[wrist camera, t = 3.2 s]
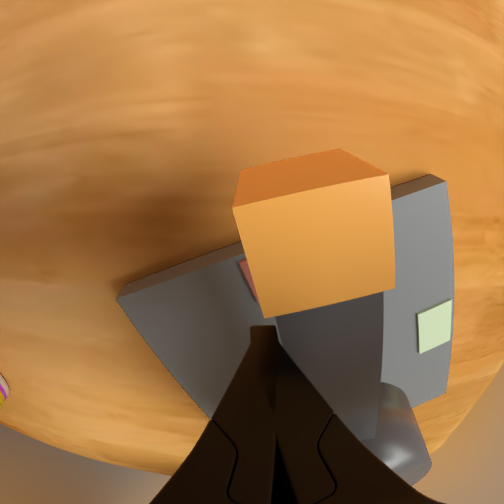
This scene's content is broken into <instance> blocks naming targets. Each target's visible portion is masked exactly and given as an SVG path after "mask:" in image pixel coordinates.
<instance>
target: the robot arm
mask: <svg viewBox="0 0 504 504" xmlns="http://www.w3.org/2000/svg"><path fill="white" fill-rule="evenodd" d="M149 504H445V503H442V502H438V501H435V500H433V499H431V498H429V497H427V496H425V495H423V494H422V493H420V492H418V491H417V490H416V489H414V488H413V487H412V486H411V485H409V484H408V483H407V482H406V481H405V480H403V479H402V478H401V477H400V476H399V475H397V474H396V473H395V472H394V471H393V470H392V469H390V468H389V467H388V466H387V465H386V464H385V463H384V462H382V461H381V460H380V459H379V458H378V457H377V456H376V455H375V454H373V453H372V452H371V451H370V450H369V449H368V448H367V447H366V446H365V445H364V444H363V443H362V442H361V441H360V440H359V439H358V438H357V437H356V436H355V435H354V434H353V432H352V431H351V430H350V429H349V428H348V427H347V426H346V425H345V423H344V422H343V421H342V420H341V419H340V417H339V416H338V415H337V414H336V413H335V414H334V410H333V409H332V408H331V407H330V405H329V404H328V403H327V402H326V400H325V399H324V398H323V397H322V395H321V394H320V393H319V392H318V391H317V389H316V388H315V387H314V386H313V384H312V383H311V382H310V381H309V379H308V378H307V377H306V376H305V374H304V373H303V372H302V371H301V369H300V368H299V367H298V365H297V364H296V363H295V362H294V360H293V359H292V358H291V357H290V355H289V354H288V353H287V351H286V350H285V349H284V348H283V346H282V345H281V344H280V342H279V339H278V334H277V329H276V326H275V325H252V326H251V327H250V345H249V347H248V349H247V351H246V353H245V355H244V357H243V359H242V361H241V363H240V365H239V367H238V368H237V370H236V372H235V374H234V376H233V378H232V380H231V382H230V384H229V386H228V387H227V389H226V391H225V393H224V395H223V397H222V399H221V401H220V402H219V404H218V406H217V408H216V410H215V412H214V413H213V415H212V417H211V420H210V421H209V422H208V424H207V426H206V428H205V429H204V431H203V433H202V435H201V436H200V438H199V440H198V441H197V443H196V444H195V446H194V448H193V449H192V451H191V452H190V454H189V455H188V456H187V458H186V459H185V460H184V462H183V463H182V464H181V466H180V467H179V468H178V470H177V471H176V472H175V473H174V475H173V476H172V477H171V479H169V481H168V482H167V483H166V484H165V486H164V487H163V488H162V489H161V490H160V491H159V493H158V494H157V495H156V496H155V497H154V498H153V500H152V501H151V502H150V503H149Z"/></svg>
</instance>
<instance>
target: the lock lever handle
mask: <svg viewBox="0 0 504 504" xmlns="http://www.w3.org/2000/svg"><path fill="white" fill-rule="evenodd" d="M232 211H233V214H234V217H235V221H236V224H237V228H238V231H239V235H240V238H241V241H242V245H243V248H244V252H245V255H246V259H247V262H248V265H249V269H250V272H251V276H252V279H253V282H254V286H255V289H256V293H257V296H258V299H259V303H260V306H261V309H262V313H263V316H264V319H265V318H270V317H275V319H276V322H277V326H278V330H279V334H280V337H281V341H282V345H283V348H284V349H285V350H286V351H287V353H288V354H289V355H290V357H291V358H292V359H293V360H294V362H295V363H296V364H297V365H298V367H299V368H300V369H301V371H302V372H303V373H304V374H305V376H306V377H307V378H308V379H309V381H310V382H311V383H312V384H313V386H314V387H315V388H316V389H317V391H318V392H319V393H320V394H321V395H322V397H323V398H324V399H325V400H326V402H327V403H328V404H329V405H330V407H331V408H332V409H333V410H334V414H335V413H336V414H337V415H338V416H339V417H340V419H341V420H342V421H343V422H344V423H345V425H346V426H347V427H348V428H349V429H350V430H351V431H352V432H353V434H354V435H355V436H356V437H357V438H358V439H359V440H360V441H361V442H362V443H363V444H364V445H365V446H366V447H367V448H368V449H369V450H370V451H371V452H372V453H373V454H375V455H376V456H377V457H378V458H379V459H380V460H381V461H382V462H384V463H385V464H386V465H387V466H388V467H389V468H390V469H392V470H393V471H394V472H395V473H396V474H397V475H399V476H400V477H401V478H402V479H403V480H405V481H406V482H407V483H408V484H409V485H411V486H412V485H414V484H415V483H417V482H418V481H419V480H421V479H422V478H423V477H424V476H425V475H426V474H427V473H428V471H429V470H430V468H431V465H432V462H431V459H430V457H429V453H428V451H427V448H426V445H425V442H424V439H423V437H422V434H421V431H420V429H419V426H418V423H417V421H416V418H415V415H414V413H413V410H412V408H411V405H410V403H409V400H408V398H407V396H406V394H405V393H404V391H403V390H401V389H400V388H399V387H397V386H394V385H392V384H389V383H385V382H381V373H382V356H383V325H384V292H383V291H386V290H390V289H394V288H395V248H394V228H393V213H392V201H391V190H390V181H389V174H387V173H385V172H384V171H382V170H380V169H378V168H376V167H374V166H373V165H371V164H369V163H367V162H365V161H363V160H361V159H359V158H357V157H355V156H353V155H351V154H349V153H347V152H345V151H343V150H341V149H335V150H330V151H325V152H319V153H314V154H309V155H304V156H300V157H295V158H290V159H286V160H281V161H277V162H272V163H268V164H264V165H259V166H255V167H251V168H247V169H243V170H241V171H240V175H239V179H238V183H237V188H236V192H235V196H234V200H233V205H232Z"/></svg>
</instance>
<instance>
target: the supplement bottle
mask: <svg viewBox="0 0 504 504" xmlns="http://www.w3.org/2000/svg"><path fill="white" fill-rule="evenodd" d="M8 395H9V388H8V385H7V383H6V381H5V380H4V378H3V377H2V375H1V374H0V409H1V407H2V405H3V404H4V402H5V400H6V398H7V397H8Z"/></svg>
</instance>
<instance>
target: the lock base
mask: <svg viewBox="0 0 504 504" xmlns="http://www.w3.org/2000/svg"><path fill="white" fill-rule="evenodd" d="M390 190H391V201H392V213H393V228H394V248H395V288H394V289H390V290H386V291H383V292H384V325H383V356H382V373H381V382H385V383H389V384H392V385H394V386H397V387H399V388H400V389H401V390H403V391H404V393H405V394H406V396H407V398H408V400H409V403H410V405H411V408H413V407H415V406H418V405H420V404H422V403H425V402H427V401H429V400H431V399H433V398H436V397H438V396H440V395H442V394H444V393H446V388H447V381H448V374H449V366H450V358H451V347H452V335H453V318H454V255H453V238H452V225H451V215H450V206H449V198H448V190H447V184H446V181H445V180H443V179H440V178H438V177H436V176H434V175H432V174H430V175H427V176H424V177H421V178H419V179H416V180H413V181H410V182H407V183H404V184H401V185H398V186H395V187H392V188H390ZM116 300H117V302H118V303H119V305H120V306H121V308H122V309H123V311H124V312H125V313H126V315H127V316H128V318H129V319H130V321H131V322H132V323H133V325H134V326H135V328H136V329H137V330H138V332H139V333H140V334H141V336H142V337H143V339H144V340H145V341H146V343H147V344H148V345H149V347H150V348H151V349H152V350H153V352H154V353H155V354H156V356H157V357H158V358H159V359H160V361H161V362H162V363H163V364H164V366H165V367H166V368H167V369H168V371H169V372H170V373H171V374H172V376H173V377H174V378H175V379H176V380H177V382H178V383H179V384H180V385H181V386H182V388H183V389H184V390H185V391H186V392H187V393H188V395H189V396H190V397H191V398H192V399H193V400H194V401H195V403H196V404H197V405H198V406H199V407H200V408H201V409H202V410H203V411H204V413H205V414H206V415H207V416H208V417H209V418H210V419H211V417H212V415H213V413H214V412H215V410H216V408H217V406H218V404H219V402H220V401H221V399H222V397H223V395H224V393H225V391H226V389H227V387H228V386H229V384H230V382H231V380H232V378H233V376H234V374H235V372H236V370H237V368H238V367H239V365H240V363H241V361H242V359H243V357H244V355H245V353H246V351H247V349H248V347H249V345H250V327H251V326H252V325H275V326H276V329H277V334H278V339H279V342H280V344H281V345H282V341H281V337H280V334H279V330H278V326H277V322H276V319H275V317H270V318H265V319H264V316H263V313H262V309H261V306H260V303H259V299H258V296H257V293H256V289H255V286H254V282H253V279H252V276H251V272H250V269H249V265H248V262H247V259H246V255H245V252H244V248H243V245H242V241H241V242H238V243H235V244H232V245H230V246H227V247H224V248H221V249H219V250H216V251H213V252H211V253H208V254H205V255H202V256H200V257H197V258H194V259H192V260H189V261H186V262H184V263H181V264H178V265H176V266H173V267H170V268H168V269H165V270H162V271H160V272H157V273H154V274H152V275H149V276H146V277H144V278H141V279H138V280H136V281H133V282H131V283H128V284H125V285H124V287H123V288H122V290H121V292H120V293H119V295H118V296H117V298H116ZM282 346H283V345H282Z"/></svg>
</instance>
